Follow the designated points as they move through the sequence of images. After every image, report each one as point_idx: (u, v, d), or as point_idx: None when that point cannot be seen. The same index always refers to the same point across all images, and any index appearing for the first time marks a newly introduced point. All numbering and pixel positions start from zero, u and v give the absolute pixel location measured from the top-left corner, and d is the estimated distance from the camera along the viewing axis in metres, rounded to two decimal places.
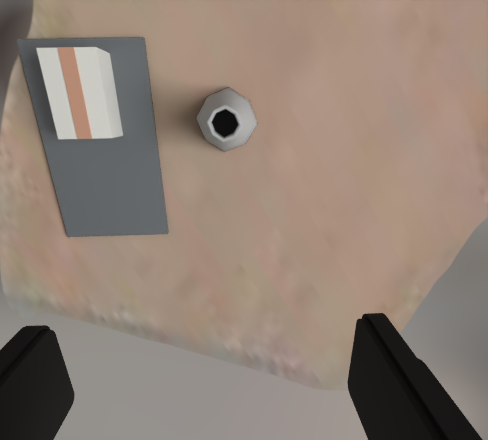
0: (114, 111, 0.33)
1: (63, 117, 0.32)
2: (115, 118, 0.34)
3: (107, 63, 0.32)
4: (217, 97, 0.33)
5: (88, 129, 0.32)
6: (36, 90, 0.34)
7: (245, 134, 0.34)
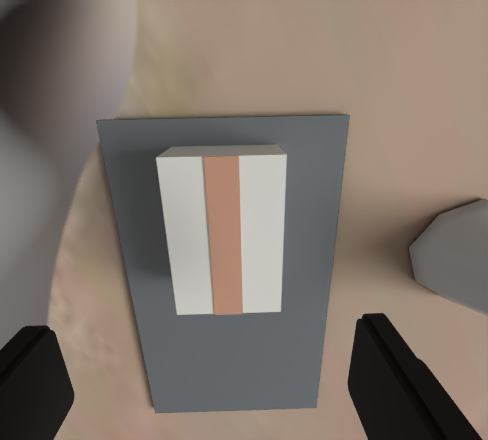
0: None
1: (192, 280, 0.16)
2: None
3: None
4: (484, 229, 0.17)
5: (237, 299, 0.16)
6: (127, 208, 0.18)
7: None
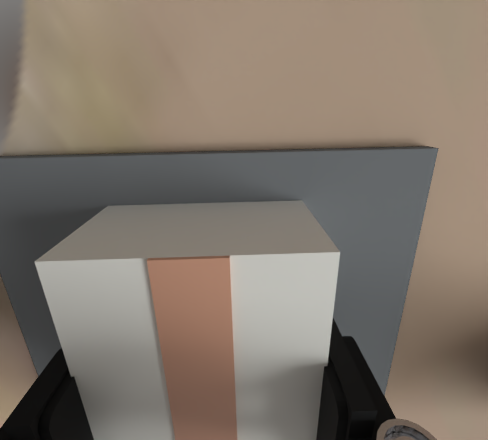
0: None
1: None
2: None
3: None
4: None
5: None
6: (36, 307, 0.10)
7: None
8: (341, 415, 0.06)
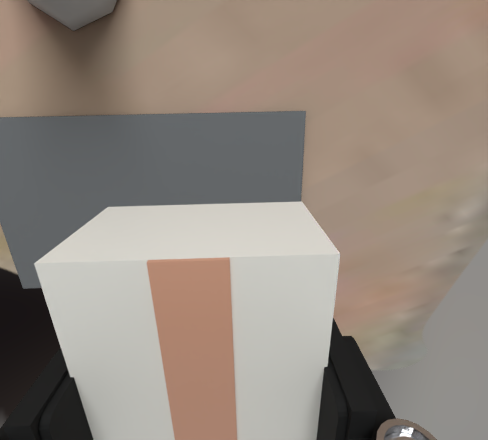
0: None
1: None
2: None
3: None
4: None
5: None
6: None
7: None
8: (341, 415, 0.06)
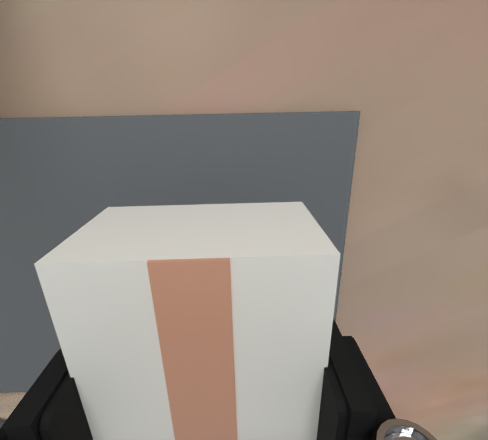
0: None
1: None
2: None
3: None
4: None
5: None
6: None
7: None
8: (341, 415, 0.06)
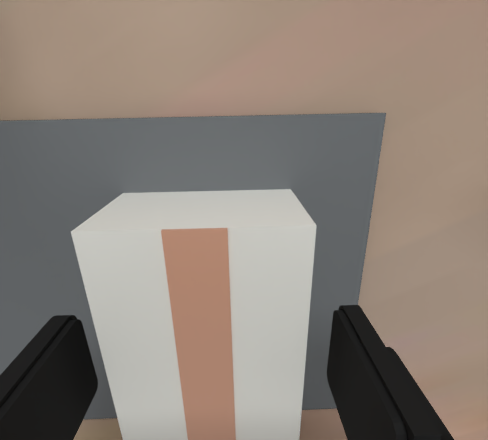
0: None
1: (152, 419, 0.09)
2: None
3: None
4: None
5: None
6: None
7: None
8: (399, 438, 0.06)
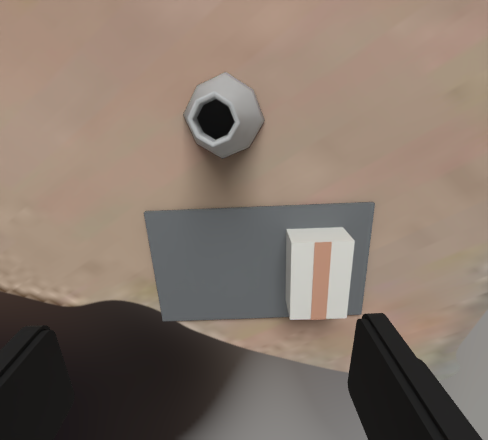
0: None
1: (301, 301, 0.30)
2: None
3: None
4: None
5: (323, 311, 0.30)
6: (204, 314, 0.35)
7: (238, 89, 0.24)
8: None
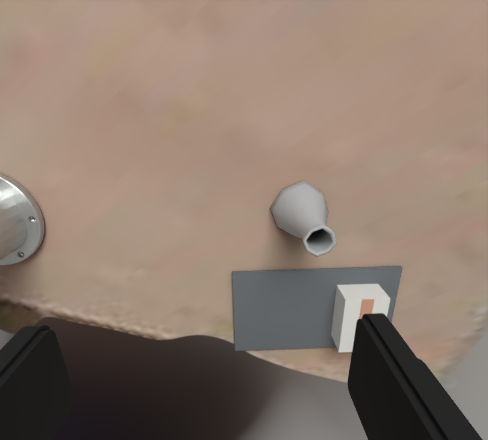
0: None
1: (348, 339, 0.40)
2: None
3: None
4: (281, 222, 0.36)
5: None
6: (268, 345, 0.45)
7: (317, 198, 0.34)
8: None
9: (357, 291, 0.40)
